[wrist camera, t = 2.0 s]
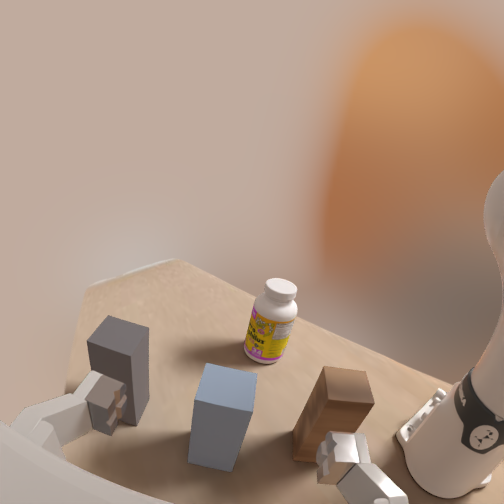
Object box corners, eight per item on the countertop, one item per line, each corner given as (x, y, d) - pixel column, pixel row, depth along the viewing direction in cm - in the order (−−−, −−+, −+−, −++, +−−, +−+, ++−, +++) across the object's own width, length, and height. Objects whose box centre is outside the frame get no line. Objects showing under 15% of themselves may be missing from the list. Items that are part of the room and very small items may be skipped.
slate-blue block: (196, 430, 33) (206, 362, 29) (236, 439, 33) (257, 373, 29) (187, 462, 28) (194, 399, 24) (231, 472, 28) (252, 411, 24)
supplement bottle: (236, 342, 51) (251, 275, 47) (270, 337, 54) (288, 273, 50) (253, 368, 46) (273, 298, 41) (289, 361, 49) (312, 295, 44)
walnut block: (292, 430, 36) (323, 365, 31) (328, 433, 36) (365, 371, 31) (292, 460, 31) (328, 399, 27) (331, 463, 31) (374, 403, 27)
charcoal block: (114, 387, 36) (108, 315, 32) (149, 398, 36) (148, 327, 31) (100, 412, 31) (86, 340, 27) (136, 426, 31) (131, 356, 27)
